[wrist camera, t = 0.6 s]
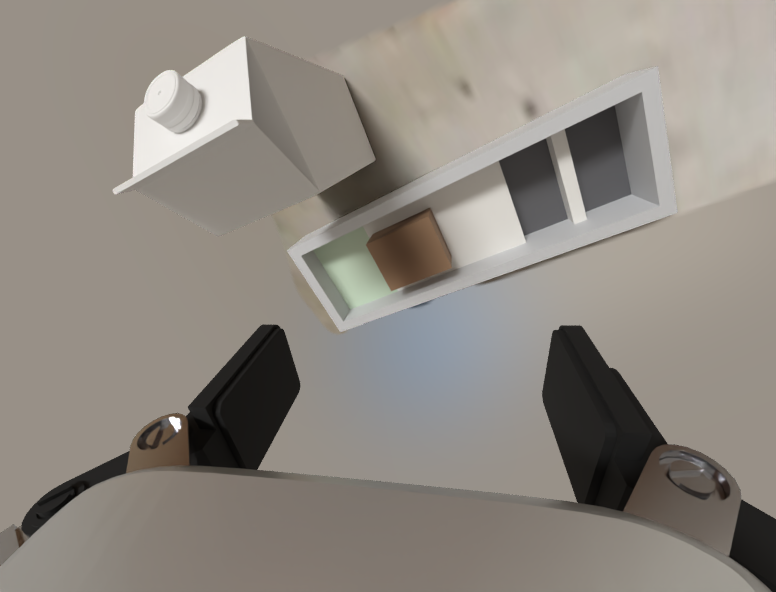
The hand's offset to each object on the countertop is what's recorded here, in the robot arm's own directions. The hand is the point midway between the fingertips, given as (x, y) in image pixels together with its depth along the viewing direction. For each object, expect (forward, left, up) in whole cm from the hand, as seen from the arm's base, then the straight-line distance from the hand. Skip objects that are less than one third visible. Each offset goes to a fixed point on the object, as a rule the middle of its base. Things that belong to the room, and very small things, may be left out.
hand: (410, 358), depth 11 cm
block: (0, +4, -20) cm, 21 cm away
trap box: (-2, 0, -22) cm, 22 cm away
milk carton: (+12, 0, -23) cm, 25 cm away
